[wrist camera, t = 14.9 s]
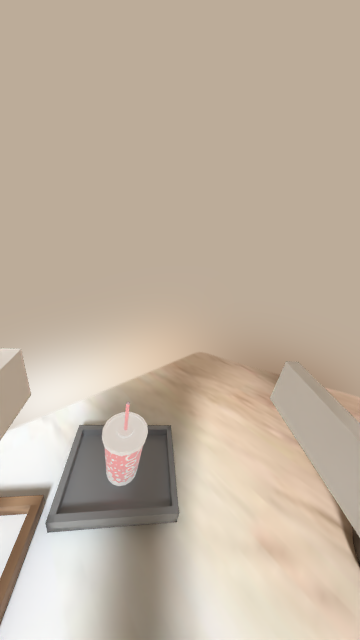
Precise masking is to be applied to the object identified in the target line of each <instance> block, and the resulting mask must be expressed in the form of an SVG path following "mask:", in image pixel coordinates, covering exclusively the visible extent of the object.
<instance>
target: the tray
mask: <svg viewBox="0 0 360 640" xmlns="http://www.w3.org/2000/svg"><path fill="white" fill-rule="evenodd" d="M103 427H104V425H79V428H78V431H77V434H76V437H75V440H74V442H73V445H72V448H71V451H70V454H69V457H68V460H67V463H66V466H65V468H64V471H63V474H62V477H61V480H60V483H59V486H58V489H57V492H56V495H55V497H54V500H53V503H52V506H51V509H50V512H49V515H48V518H47V521H46V528H47V533H48V532H60V531H72V530H84V529H96V528H108V527H120V526H132V525H144V524H156V523H168V522H176V521H177V518H178V515H179V508H178V497H177V487H176V476H175V466H174V455H173V445H172V434H171V426H160V425H147V428H148V434H147V438H146V440H145V443H144V445H143V448H142V452H141V456H140V460H139V464H138V468H137V472H136V475H135V477H134V478H133V479H132V481H131V482H129V483H128V484H126V485H123V486H116V485H113V484H112V483H111V482H110V481H109V480H108V477H107V474H106V460H105V447H104V444H103V441H102V431H103Z"/></svg>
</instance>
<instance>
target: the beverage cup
mask: <svg viewBox="0 0 360 640" xmlns="http://www.w3.org/2000/svg"><path fill="white" fill-rule="evenodd" d="M129 407H130V402H126V411H125V412H121V413H118V414H116V415H114V416H112V417H111V418H110V419H109V420H107V422H106V424H105V425H104V427H103V431H102V441H103V444H104V447H105V460H106V474H107V477H108V480H109V481H110V482H111V483H112V484H113V485H116V486H123V485H126V484H128V483H129V482H131V481H132V479H133V478H134V477H135V475H136V472H137V468H138V464H139V460H140V456H141V452H142V448H143V445H144V443H145V440H146V438H147V434H148V428H147V423H146V422H145V420H144V418H143V417H141V416H140V415H138V414H136V413H133V412H129Z"/></svg>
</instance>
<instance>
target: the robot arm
mask: <svg viewBox="0 0 360 640" xmlns="http://www.w3.org/2000/svg"><path fill="white" fill-rule="evenodd" d="M30 396H31V392H30V388H29V383H28V379H27V374H26V370H25V365H24V360H23V356H22V351H21V349H11V348H1V349H0V440H1V438H2V437H3V436H4V434H5V433H6V431H7V430H8V428H9V427H10V425H11V424H12V422H13V421H14V419H15V418H16V416H17V415H18V413H19V412H20V410H21V409H22V408H23V406H24V404H25V403H26V402H27V400H28V398H29V397H30ZM270 399H271V401H272V402H273V404H274V406H275V407H276V409H277V410H278V412H279V413H280V415H281V416H282V418H283V419H284V421H285V423H286V424H287V426H288V427H289V429H290V430H291V432H292V433H293V435H294V437H295V438H296V440H297V441H298V443H299V444H300V446H301V447H302V449H303V450H304V452H305V454H306V455H307V457H308V458H309V460H310V461H311V463H312V464H313V466H314V468H315V469H316V471H317V472H318V474H319V475H320V477H321V478H322V480H323V481H324V483H325V485H326V486H327V488H328V489H329V491H330V492H331V494H332V495H333V497H334V499H335V500H336V502H337V503H338V505H339V506H340V508H341V509H342V511H343V513H344V514H345V516H346V517H347V519H348V520H349V522H350V523H351V525H352V526H353V541H354V547H355V551H356V554H357V557H358V560H359V563H360V423H359V422H358V421H357V420H356V419H355V418H354V417H353V416H352V415H351V414H350V413H349V412H348V411H347V410H346V409H345V408H344V407H343V406H342V405H341V404H340V403H339V402H338V401H337V400H336V399H335V398H334V397H333V396H332V395H331V394H330V393H329V392H328V391H327V390H326V389H325V388H324V387H323V386H322V385H321V384H320V383H319V382H318V381H317V380H316V379H315V378H314V377H313V376H312V375H311V374H310V373H309V372H308V371H307V370H306V369H305V368H304V367H303V366H302V365H301V364H300V363H299V362H286V363H285V365H284V367H283V370H282V372H281V374H280V376H279V379H278V381H277V383H276V385H275V388H274V390H273V392H272V394H271V397H270Z"/></svg>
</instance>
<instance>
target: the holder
mask: <svg viewBox="0 0 360 640" xmlns="http://www.w3.org/2000/svg"><path fill="white" fill-rule="evenodd" d="M44 505H45V500H44V495H36V496H17V497H0V516H1V515H16V514H27V516H26V518H25V521H24V523H23V525H22V528H21V530H20V533H19V535H18V537H17V540H16V542H15V545H14V547H13V549H12V552H11V554H10V557H9V559H8V561H7V564H6V566H5V569H4V571H3V573H2V576H1V578H0V624H1V621H2V618H3V615H4V613H5V610H6V607H7V605H8V602H9V599H10V597H11V594H12V591H13V589H14V586H15V583H16V580H17V578H18V575H19V572H20V570H21V567H22V564H23V562H24V559H25V556H26V553H27V551H28V548H29V545H30V543H31V540H32V537H33V535H34V532H35V529H36V527H37V524H38V521H39V518H40V516H41V513H42V510H43V508H44Z"/></svg>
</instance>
